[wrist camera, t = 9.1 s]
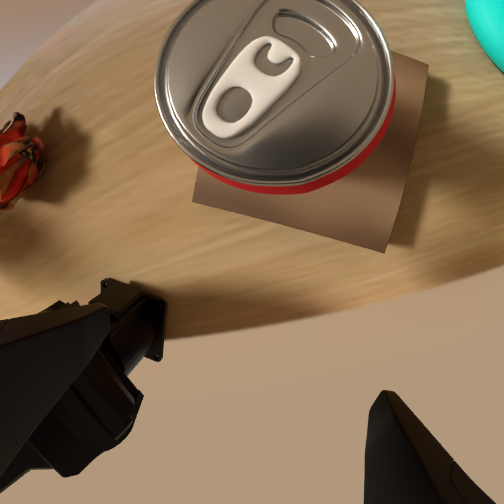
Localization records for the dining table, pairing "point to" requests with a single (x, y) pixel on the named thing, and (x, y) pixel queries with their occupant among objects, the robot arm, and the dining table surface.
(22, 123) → the dragon fruit
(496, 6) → the donuts
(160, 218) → the dining table surface
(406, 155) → the walnut plinth
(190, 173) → the dining table surface
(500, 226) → the dining table surface
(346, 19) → the beverage can
